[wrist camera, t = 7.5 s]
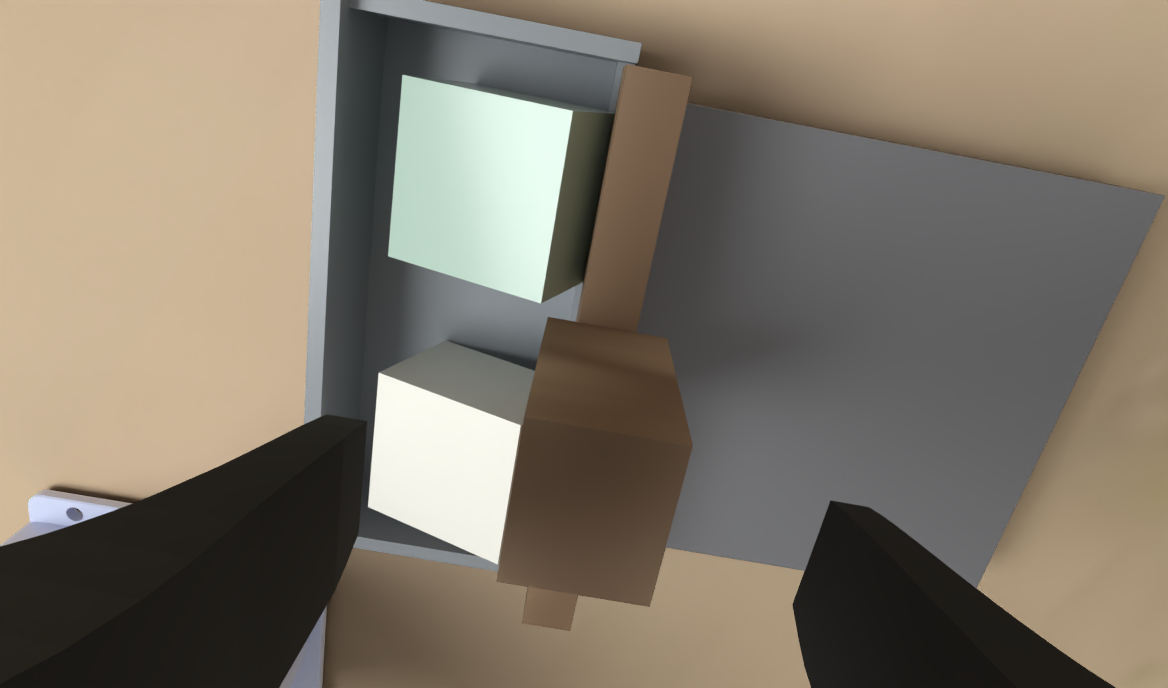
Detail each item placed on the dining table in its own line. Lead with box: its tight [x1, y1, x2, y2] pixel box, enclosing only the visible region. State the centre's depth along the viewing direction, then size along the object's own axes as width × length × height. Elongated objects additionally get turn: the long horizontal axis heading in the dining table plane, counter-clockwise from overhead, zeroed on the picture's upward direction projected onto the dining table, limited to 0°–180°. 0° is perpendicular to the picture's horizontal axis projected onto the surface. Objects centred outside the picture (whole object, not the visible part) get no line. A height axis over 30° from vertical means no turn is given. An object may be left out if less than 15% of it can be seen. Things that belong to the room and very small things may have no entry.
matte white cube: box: [368, 340, 535, 564], centre depth 19 cm, size 4×4×3 cm
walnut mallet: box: [497, 64, 693, 631], centre depth 14 cm, size 2×13×8 cm, turn 170°
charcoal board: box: [636, 103, 1165, 588], centre depth 19 cm, size 12×12×2 cm
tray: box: [304, 0, 642, 572], centre depth 18 cm, size 6×14×4 cm, turn 170°
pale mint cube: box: [388, 75, 615, 303], centre depth 16 cm, size 4×4×3 cm
